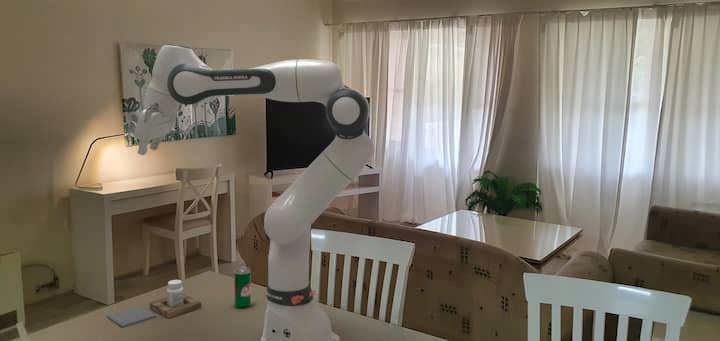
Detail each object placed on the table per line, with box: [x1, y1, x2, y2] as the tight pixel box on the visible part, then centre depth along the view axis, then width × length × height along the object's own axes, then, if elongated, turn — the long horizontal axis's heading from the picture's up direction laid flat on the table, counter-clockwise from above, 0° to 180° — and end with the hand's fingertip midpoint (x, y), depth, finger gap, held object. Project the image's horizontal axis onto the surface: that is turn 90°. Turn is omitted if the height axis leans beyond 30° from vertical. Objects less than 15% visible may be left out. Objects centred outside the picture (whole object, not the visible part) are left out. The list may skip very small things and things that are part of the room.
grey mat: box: [106, 305, 157, 328], centre depth 160 cm, size 10×10×1 cm
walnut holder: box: [149, 293, 202, 319], centre depth 167 cm, size 11×11×2 cm
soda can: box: [233, 266, 252, 309], centre depth 170 cm, size 5×5×12 cm
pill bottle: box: [166, 279, 184, 308], centre depth 167 cm, size 5×5×8 cm
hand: (147, 151), depth 147 cm, fingers open, 8 cm apart
